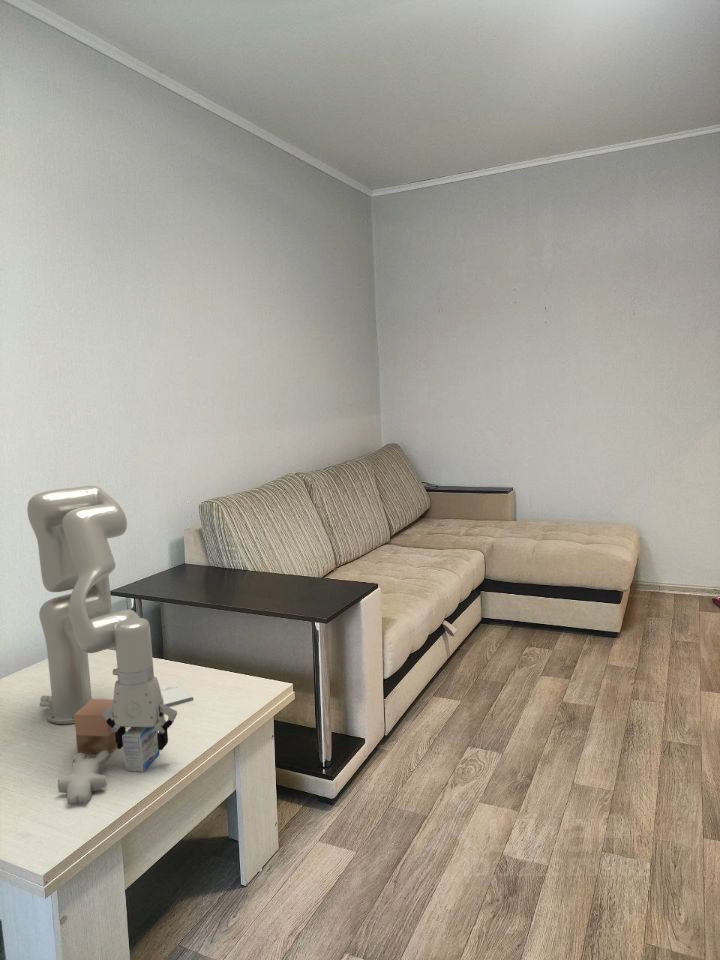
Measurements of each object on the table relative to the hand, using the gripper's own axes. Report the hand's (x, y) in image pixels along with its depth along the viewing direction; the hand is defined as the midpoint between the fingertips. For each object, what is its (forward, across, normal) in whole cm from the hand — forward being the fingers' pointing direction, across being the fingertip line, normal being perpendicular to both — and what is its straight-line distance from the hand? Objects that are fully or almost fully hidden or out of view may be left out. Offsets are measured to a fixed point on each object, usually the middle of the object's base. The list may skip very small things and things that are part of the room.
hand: (142, 746), depth 156 cm
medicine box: (+4, 0, 0) cm, 4 cm away
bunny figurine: (+4, -9, -10) cm, 14 cm away
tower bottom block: (+4, -13, +6) cm, 15 cm away
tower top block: (-1, -13, +6) cm, 14 cm away
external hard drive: (+4, -7, +33) cm, 34 cm away
